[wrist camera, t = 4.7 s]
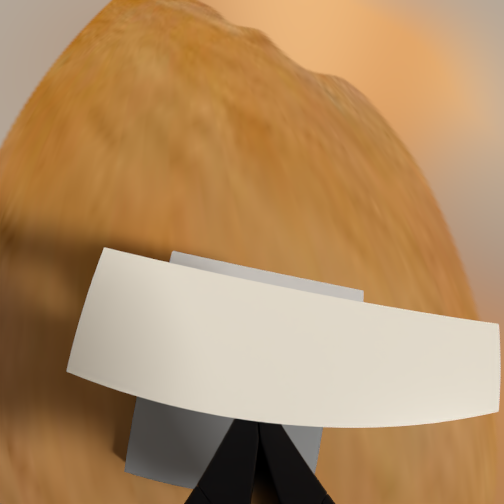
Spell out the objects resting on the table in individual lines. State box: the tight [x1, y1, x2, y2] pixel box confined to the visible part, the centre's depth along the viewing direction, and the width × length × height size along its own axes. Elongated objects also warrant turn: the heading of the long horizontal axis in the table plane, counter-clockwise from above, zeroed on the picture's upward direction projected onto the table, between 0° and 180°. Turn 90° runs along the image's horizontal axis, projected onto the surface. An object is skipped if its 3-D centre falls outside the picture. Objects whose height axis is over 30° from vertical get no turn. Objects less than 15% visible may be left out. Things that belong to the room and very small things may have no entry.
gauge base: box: [124, 251, 363, 489], centre depth 11 cm, size 10×9×6 cm
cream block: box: [66, 247, 500, 428], centre depth 8 cm, size 2×9×11 cm, turn 81°
